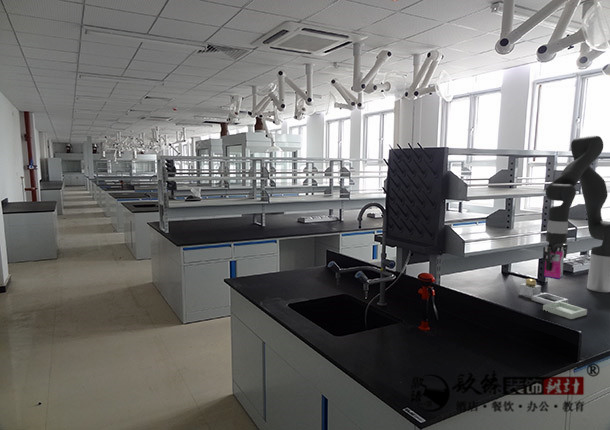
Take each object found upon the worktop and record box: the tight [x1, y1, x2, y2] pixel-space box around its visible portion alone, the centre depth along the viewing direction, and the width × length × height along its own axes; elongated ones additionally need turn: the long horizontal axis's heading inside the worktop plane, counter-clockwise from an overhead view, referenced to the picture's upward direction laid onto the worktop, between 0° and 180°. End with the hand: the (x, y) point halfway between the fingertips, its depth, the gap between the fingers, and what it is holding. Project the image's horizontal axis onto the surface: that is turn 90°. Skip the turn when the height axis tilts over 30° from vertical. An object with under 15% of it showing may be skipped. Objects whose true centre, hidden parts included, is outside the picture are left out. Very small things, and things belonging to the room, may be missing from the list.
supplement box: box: [543, 251, 565, 280], centre depth 172 cm, size 6×6×12 cm
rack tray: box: [542, 301, 588, 320], centre depth 162 cm, size 11×11×2 cm
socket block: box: [518, 282, 570, 305], centre depth 177 cm, size 10×17×5 cm, turn 28°
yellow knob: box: [525, 278, 537, 286], centre depth 181 cm, size 4×4×6 cm
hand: (553, 269), depth 172 cm, fingers closed on supplement box, 6 cm apart
